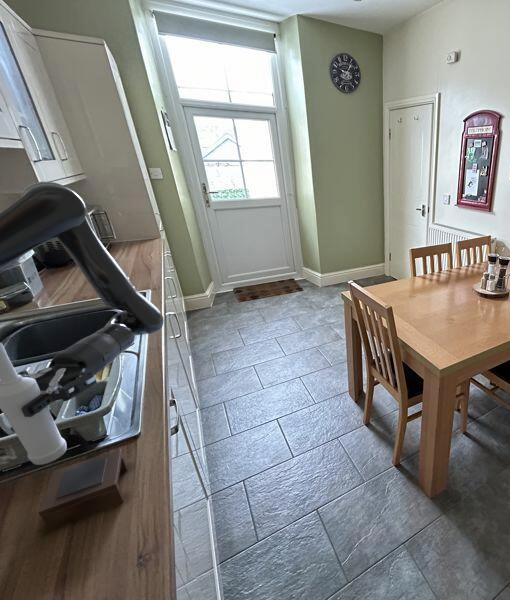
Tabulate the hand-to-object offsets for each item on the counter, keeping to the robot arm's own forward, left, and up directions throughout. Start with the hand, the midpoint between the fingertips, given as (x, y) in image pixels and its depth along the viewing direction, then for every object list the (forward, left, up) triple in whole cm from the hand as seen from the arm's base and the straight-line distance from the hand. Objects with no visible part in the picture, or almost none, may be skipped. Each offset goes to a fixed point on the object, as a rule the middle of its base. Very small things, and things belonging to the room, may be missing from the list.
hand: (7, 412), depth 56 cm
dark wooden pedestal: (+10, -2, -18) cm, 21 cm away
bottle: (0, +3, -13) cm, 13 cm away
